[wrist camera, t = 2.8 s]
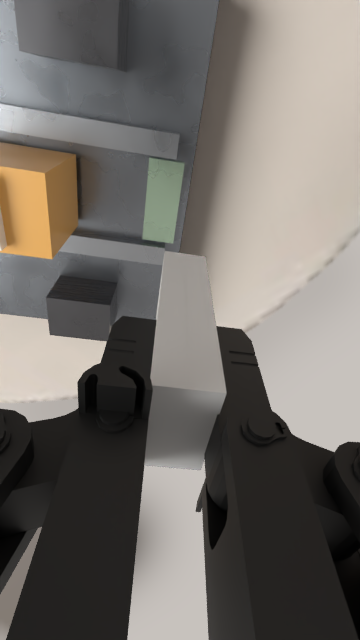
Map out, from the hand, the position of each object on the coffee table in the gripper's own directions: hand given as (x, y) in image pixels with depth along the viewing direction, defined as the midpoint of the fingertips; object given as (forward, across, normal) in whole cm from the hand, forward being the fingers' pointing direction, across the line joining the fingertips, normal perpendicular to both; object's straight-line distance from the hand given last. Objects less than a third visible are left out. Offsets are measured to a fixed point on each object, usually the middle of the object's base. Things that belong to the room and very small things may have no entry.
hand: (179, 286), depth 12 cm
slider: (+9, -9, 0) cm, 12 cm away
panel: (+12, -9, 0) cm, 15 cm away
